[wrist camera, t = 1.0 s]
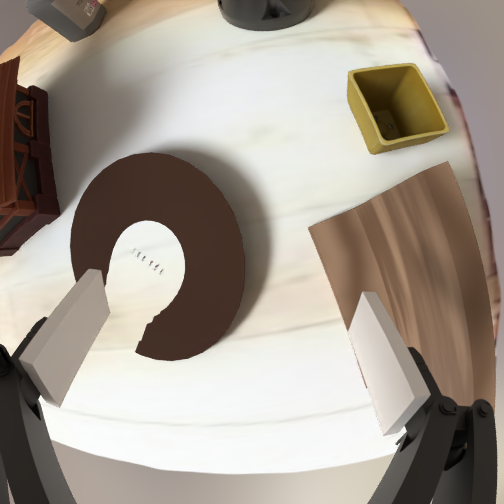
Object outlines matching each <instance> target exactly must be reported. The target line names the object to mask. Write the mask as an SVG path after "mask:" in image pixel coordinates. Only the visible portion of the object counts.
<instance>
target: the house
mask: <svg viewBox="0 0 504 504" xmlns="http://www.w3.org/2000/svg"><path fill="white" fill-rule="evenodd" d="M19 62H20V56H18V57H16V58H14V59H13V60H12V59H11V60H9V61H7V62H4V63H2V64H0V257H2V256H12V255H13V254H14V253H15V252H17V251H18V250H19V247H20V246H21V245H22V244H23V243H24V242H26V241H27V240H28V239H29V238H30V237H31V236H33V235H34V234H35V233H36V232H37V231H38V230H40V229H41V228H42V227H44V226H45V225H46V224H50V223H52V222H53V221H54V220H56V219H57V218H58V217H60V209H59V204H58V200H57V198H56V197H57V193H56V187H55V180H54V174H53V166H52V162H51V161H52V158H51V149H50V137H49V121H48V94H47V92H46V91H44V90H42V89H40V88H38V87H36V86H34V85H32V86H29V87H28V88H24V87H22V86H20V85H18V84H17V81H18V80H17V75H18V69H19Z"/></svg>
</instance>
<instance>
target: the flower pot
mask: <svg viewBox="0 0 504 504" xmlns="http://www.w3.org/2000/svg"><path fill="white" fill-rule="evenodd" d="M347 99H348V103H349V106H350V108H351V111H352V113H353V115H354V117H355V119H356V122H357V124H358V126H359V128H360V131H361V133H362V135H363V138H364V140H365V143H366V145H367V148H368V150H369V152H370V153H371V154H373V155H375V154H380V153H383V152H387V151H391V150H395V149H400V148H404V147H409V146H413V145H419V144H423V143H426V142H429V141H431V140H433V139H435V138H437V137H440V136H442V135H444V134H446V133H448V132H449V131H450V130H449V126H448V124H447V122H446V120H445V118H444V116H443V113H442V111H441V109H440V107H439V105H438V103H437V101H436V99H435V97H434V96H433V94H432V92H431V90H430V88H429V86H428V84H427V83H426V81H425V79H424V77H423V75H422V74H421V72H420V70H419V69H418V67H417V66H416V64H413V63H404V64H394V65H384V66H377V67H369V68H362V69H356V70H352V71H349V72H348V87H347ZM374 116H376V117H377V120H375V119H374ZM389 125H391V126H392V129H390V128H389ZM384 138H385V139H386V140H385V139H384Z"/></svg>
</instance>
